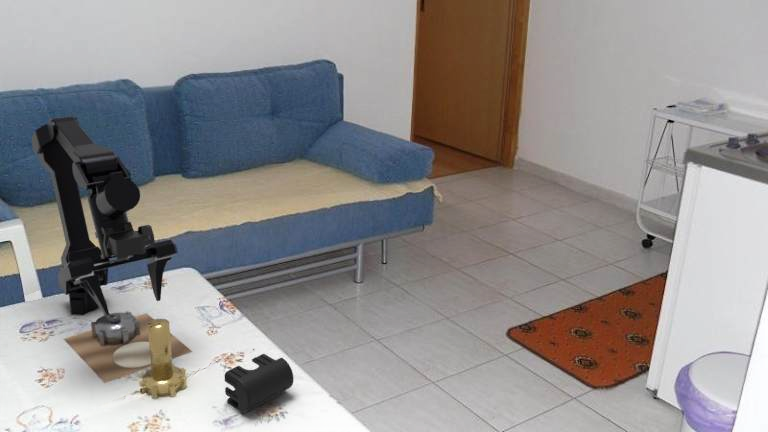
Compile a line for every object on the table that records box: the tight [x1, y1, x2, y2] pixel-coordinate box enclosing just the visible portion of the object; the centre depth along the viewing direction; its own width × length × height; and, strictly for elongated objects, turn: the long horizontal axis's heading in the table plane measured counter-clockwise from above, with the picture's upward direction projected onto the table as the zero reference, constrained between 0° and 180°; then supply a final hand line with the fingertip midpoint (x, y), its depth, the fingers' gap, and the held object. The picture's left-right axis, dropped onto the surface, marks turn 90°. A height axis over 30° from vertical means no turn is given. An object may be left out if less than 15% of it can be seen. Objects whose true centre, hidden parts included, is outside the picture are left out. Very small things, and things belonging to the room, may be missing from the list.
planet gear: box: [138, 318, 187, 400], centre depth 135 cm, size 8×8×12 cm
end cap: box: [224, 353, 295, 413], centre depth 132 cm, size 10×7×7 cm
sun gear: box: [90, 310, 140, 347], centre depth 149 cm, size 9×8×4 cm
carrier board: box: [63, 312, 193, 384], centre depth 147 cm, size 20×17×2 cm
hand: (133, 307), depth 134 cm, fingers open, 9 cm apart
